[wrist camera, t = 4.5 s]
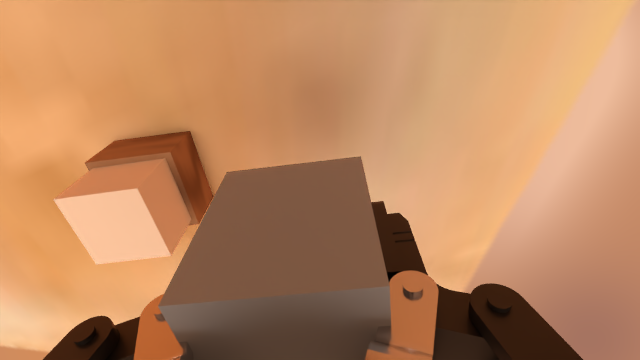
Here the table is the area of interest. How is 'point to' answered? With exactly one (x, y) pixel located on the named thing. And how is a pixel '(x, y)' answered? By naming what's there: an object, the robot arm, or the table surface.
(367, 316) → the slate block
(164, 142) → the tower base
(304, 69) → the table surface
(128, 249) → the tower top
